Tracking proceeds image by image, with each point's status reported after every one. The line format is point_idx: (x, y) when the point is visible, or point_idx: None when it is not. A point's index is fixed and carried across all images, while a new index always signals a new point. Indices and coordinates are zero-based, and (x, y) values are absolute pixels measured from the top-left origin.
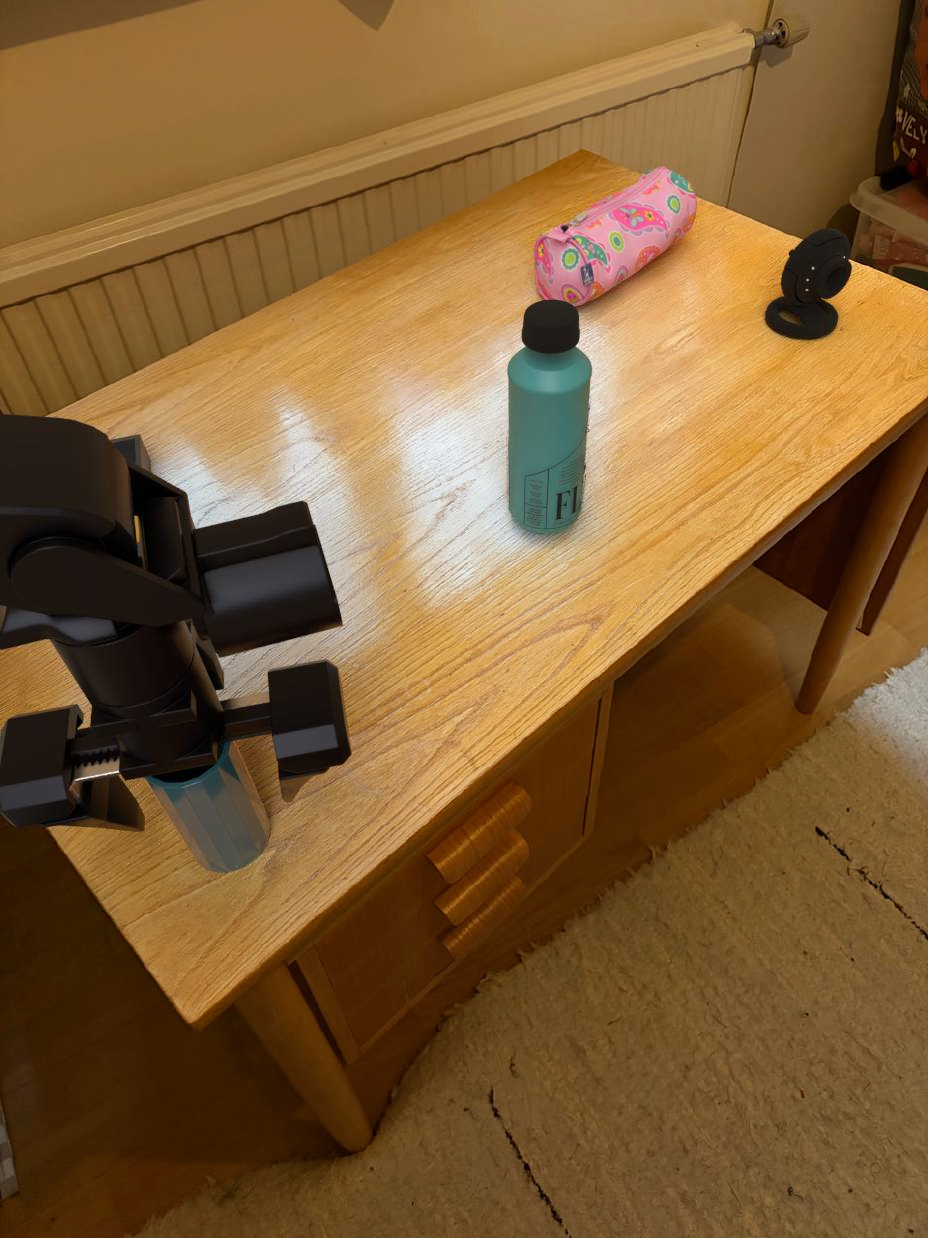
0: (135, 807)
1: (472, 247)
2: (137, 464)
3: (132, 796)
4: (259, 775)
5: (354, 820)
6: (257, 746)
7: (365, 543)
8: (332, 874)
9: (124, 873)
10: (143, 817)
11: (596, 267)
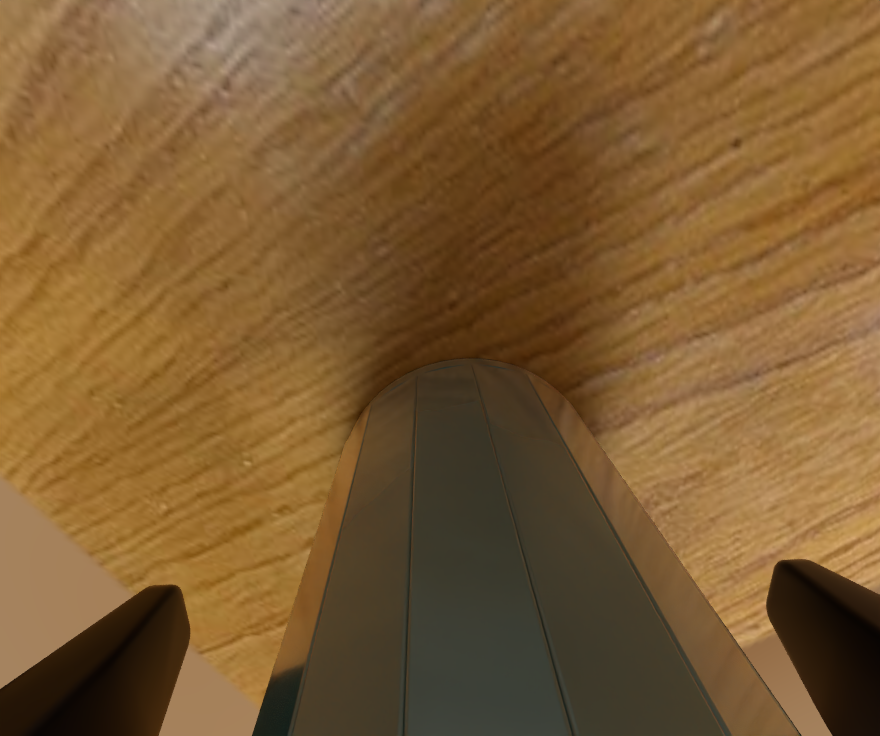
0: (113, 709)
1: None
2: None
3: (70, 712)
4: (576, 280)
5: (831, 489)
6: (583, 143)
7: None
8: (726, 614)
9: (159, 533)
10: (172, 612)
11: None
